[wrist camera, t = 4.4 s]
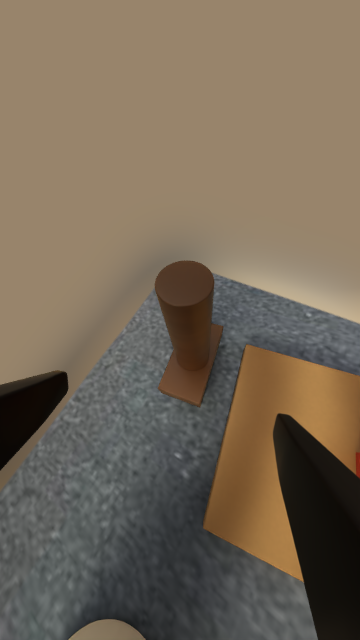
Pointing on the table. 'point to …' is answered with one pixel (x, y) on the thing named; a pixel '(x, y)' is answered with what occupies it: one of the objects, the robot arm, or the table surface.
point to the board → (259, 454)
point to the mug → (107, 631)
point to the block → (358, 464)
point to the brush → (188, 329)
